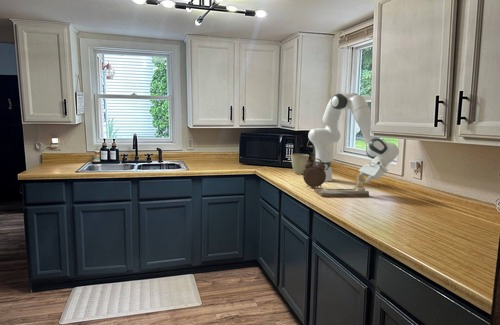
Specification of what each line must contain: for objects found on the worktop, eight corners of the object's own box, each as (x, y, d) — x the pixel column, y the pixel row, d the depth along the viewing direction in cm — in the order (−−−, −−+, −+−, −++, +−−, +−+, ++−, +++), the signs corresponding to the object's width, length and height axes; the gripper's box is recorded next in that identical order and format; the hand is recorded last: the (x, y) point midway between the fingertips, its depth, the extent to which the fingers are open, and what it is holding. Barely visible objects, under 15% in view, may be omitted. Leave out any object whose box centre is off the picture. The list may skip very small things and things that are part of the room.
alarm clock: (326, 188, 234) (328, 159, 231) (321, 190, 228) (323, 159, 225) (306, 185, 243) (308, 156, 240) (301, 187, 237) (303, 157, 234)
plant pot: (286, 172, 295) (287, 153, 293) (303, 172, 299) (304, 153, 297) (294, 175, 281) (295, 155, 279) (311, 175, 285) (312, 155, 283)
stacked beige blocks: (352, 190, 221) (354, 173, 220) (360, 190, 222) (361, 173, 220) (357, 192, 215) (358, 175, 214) (364, 192, 216) (366, 175, 214)
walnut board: (314, 191, 223) (314, 186, 223) (358, 191, 228) (358, 186, 227) (321, 196, 209) (322, 191, 209) (368, 197, 214) (369, 191, 214)
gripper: (366, 159, 227) (351, 173, 227) (383, 163, 207) (366, 179, 207) (372, 166, 229) (357, 180, 229) (389, 171, 209) (372, 187, 208)
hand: (361, 180), depth 218 cm, fingers open, 8 cm apart
